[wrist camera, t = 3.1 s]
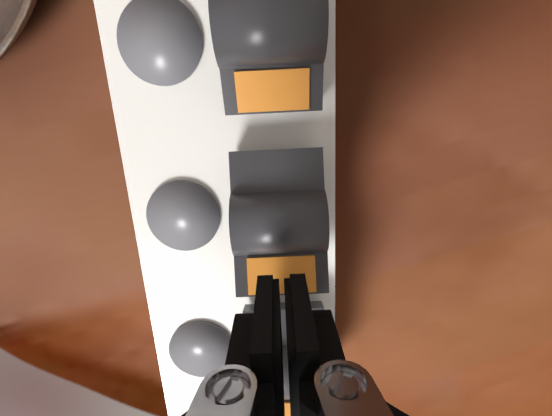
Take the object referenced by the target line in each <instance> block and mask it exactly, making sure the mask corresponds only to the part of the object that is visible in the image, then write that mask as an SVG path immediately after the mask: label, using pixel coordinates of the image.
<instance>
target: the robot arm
mask: <svg viewBox="0 0 552 416" xmlns="http://www.w3.org/2000/svg"><path fill="white" fill-rule="evenodd" d="M284 293H285V314H286V335H287V356H288V374H289V393H290V412H291V416H409V415H407V414H405V413H404V412H402V411H400V410H399V409H397V408H395V407H394V406H392V405H390V404H389V403H387V402H386V401H385V399H384V398H383V396H382V394H381V392H380V391H379V389H378V387H377V385H376V384H375V382H374V380H373V378H372V377H371V375H370V374H369V373H368V371H367V370H366V369H364V368H363V367H362V366H360V365H359V364H356V363H354V362H351V361H346V360H345V356H344V353H343V350H342V346H341V343H340V339H339V336H338V332H337V329H336V325H335V322H334V319H333V315H332V312H331V310H330V309H329V310H312V308H311V302H310V297H309V292H308V287H307V282H306V276H305V273H300V274H290V278H284ZM181 416H285V406H284V376H283V348H282V328H281V308H280V289H279V279H273V275H258V276H257V284H256V294H255V303H254V312H253V313H240V314H235V317H234V322H233V326H232V331H231V336H230V341H229V346H228V351H227V356H226V361H225V366H221V367H218V368H216V369H214V370H212V371H211V372H210V373H209V374H207V375H206V376H205V377H204V379H203V380H202V382H201V383H200V385H199V387H198V389H197V392H196V394H195V396H194V398H193V400H192V402H191V404H190V407H189V409H188V411H186V412H185V413H184V414H182V415H181Z"/></svg>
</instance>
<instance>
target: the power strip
mask: <svg viewBox="0 0 552 416" xmlns="http://www.w3.org/2000/svg"><path fill="white" fill-rule="evenodd" d="M94 6H95V12H96V17H97V23H98V28H99V34H100V39H101V45H102V51H103V56H104V62H105V67H106V73H107V78H108V84H109V90H110V95H111V101H112V106H113V112H114V117H115V123H116V128H117V134H118V140H119V145H120V151H121V156H122V162H123V167H124V173H125V179H126V184H127V190H128V195H129V201H130V206H131V212H132V218H133V223H134V229H135V234H136V240H137V245H138V251H139V257H140V262H141V268H142V273H143V279H144V284H145V290H146V296H147V301H148V307H149V312H150V318H151V323H152V329H153V335H154V340H155V346H156V351H157V357H158V362H159V368H160V374H161V379H162V385H163V390H164V396H165V401H166V407H167V413H168V416H181V415H182V414H184V413H185V412H186V411H188V409H189V407H190V404H191V402H192V400H193V398H194V396H195V394H196V392H197V389H198V387H199V385H200V383H201V382H202V380H203V379H204V377H205V376H206V375H207V374H209V373H210V372H211V371H212V370H214V369H216V368H218V367H221V366H225V361H226V356H227V351H228V346H229V341H230V336H231V331H232V326H233V322H234V317H235V314H240V313H243V309H244V306H245V304H254V303H255V297H236V290H235V271H234V255H233V253H232V249H231V243H230V234H229V199H230V194H231V192H230V172H229V152H232V151H253V150H273V149H293V148H313V147H323V163H324V186H325V192H326V196H327V202H328V210H329V228H330V235H329V248H328V274H329V293H322V294H309V297H310V301H322V304H323V306H324V310H329V309H330V310H331V312H332V315H333V319H334V322H335V0H329V26H328V42H327V51H326V57H325V61H324V71H323V108H322V111H303V112H284V113H264V114H245V115H225V110H224V102H223V94H222V86H221V78H220V70H219V67H218V65H217V62H216V58H215V54H214V49H213V43H212V37H211V30H210V22H209V10H208V0H94ZM280 303H285V295H280Z"/></svg>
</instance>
